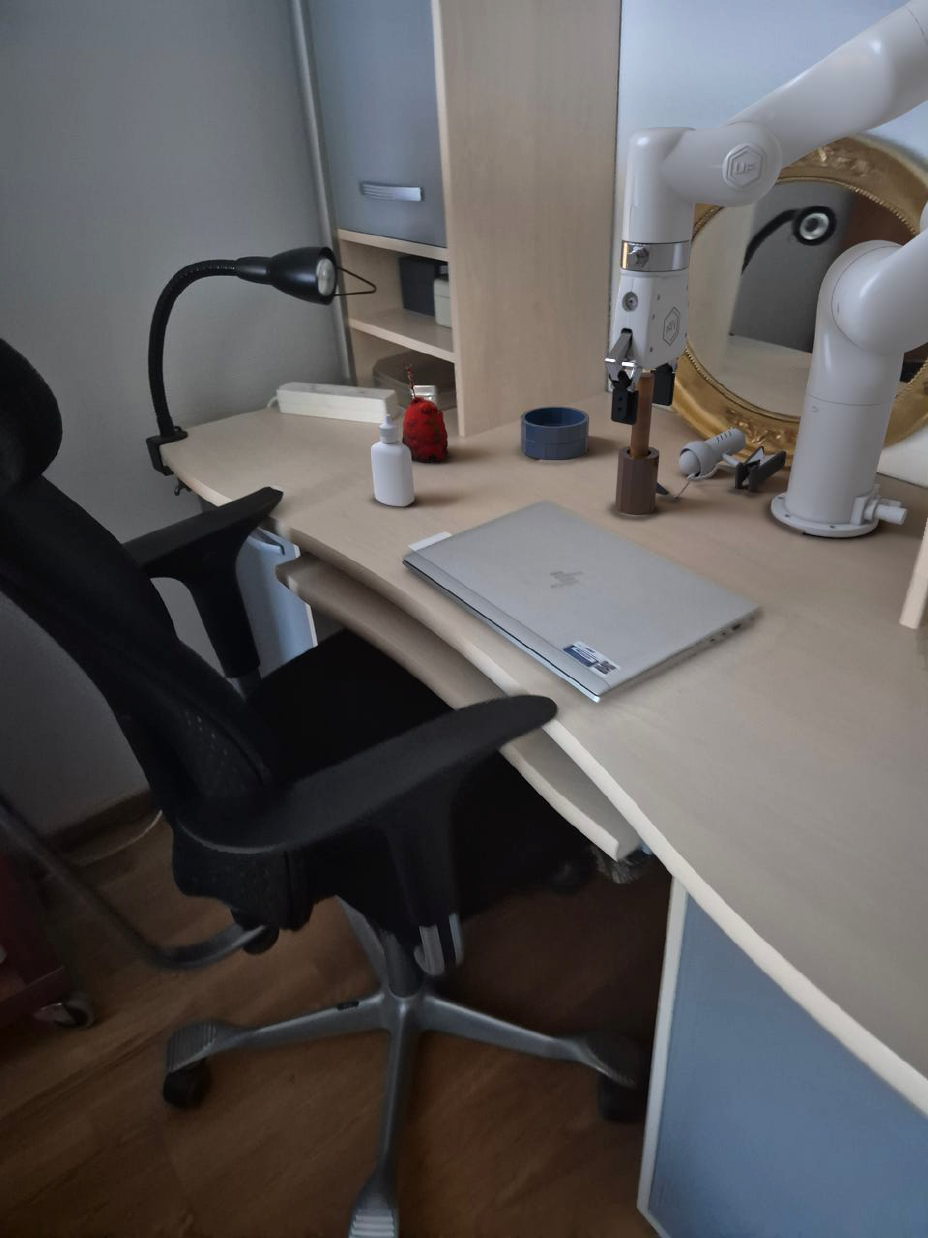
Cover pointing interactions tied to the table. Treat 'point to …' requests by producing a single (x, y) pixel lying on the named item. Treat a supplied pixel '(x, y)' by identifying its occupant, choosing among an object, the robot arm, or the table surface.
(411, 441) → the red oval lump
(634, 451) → the stick
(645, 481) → the holder
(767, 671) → the table surface
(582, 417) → the bowl
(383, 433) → the eye dropper bottle
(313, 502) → the table surface
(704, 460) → the clip-on lamp
